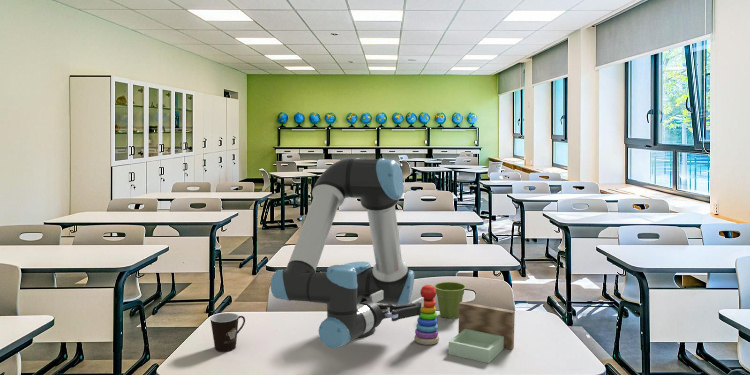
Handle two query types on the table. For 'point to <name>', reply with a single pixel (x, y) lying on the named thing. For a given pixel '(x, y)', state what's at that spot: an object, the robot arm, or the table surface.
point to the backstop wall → (488, 321)
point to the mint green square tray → (476, 345)
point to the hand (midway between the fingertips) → (402, 297)
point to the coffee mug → (225, 331)
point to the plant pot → (449, 298)
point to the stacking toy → (427, 318)
